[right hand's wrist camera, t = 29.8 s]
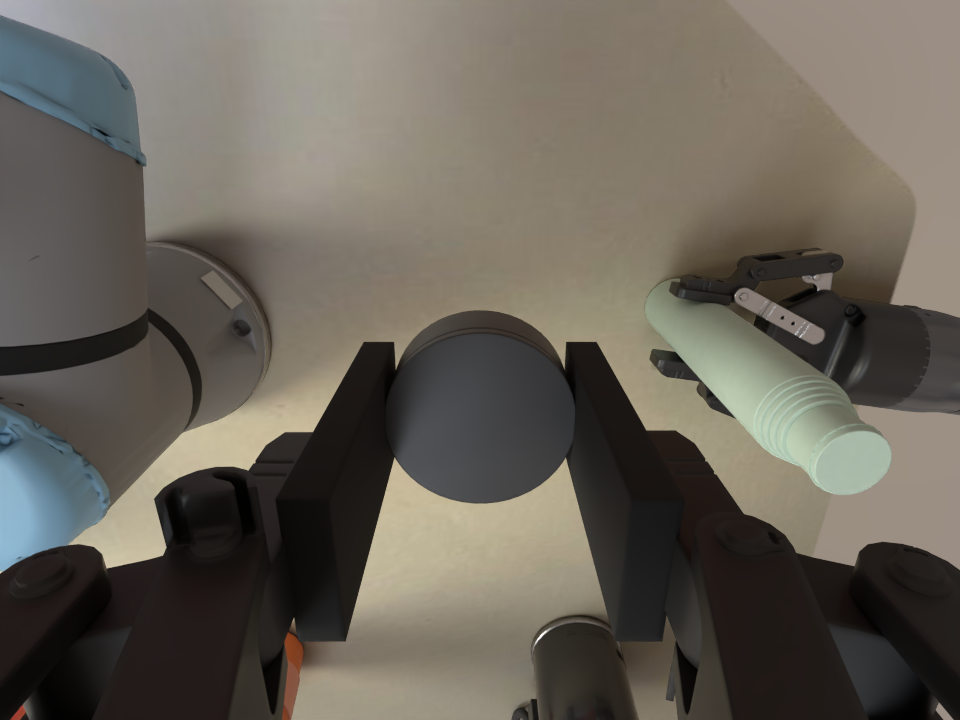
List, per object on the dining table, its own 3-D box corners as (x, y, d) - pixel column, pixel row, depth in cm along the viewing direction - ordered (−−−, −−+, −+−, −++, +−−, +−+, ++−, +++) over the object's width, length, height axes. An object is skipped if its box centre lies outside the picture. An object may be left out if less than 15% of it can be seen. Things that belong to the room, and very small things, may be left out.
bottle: (639, 329, 46) (784, 504, 24) (651, 275, 45) (818, 410, 23) (693, 334, 47) (885, 512, 25) (707, 281, 45) (927, 421, 23)
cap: (529, 484, 15) (535, 524, 14) (374, 438, 15) (361, 474, 13) (593, 342, 14) (608, 369, 12) (423, 285, 13) (415, 305, 12)
